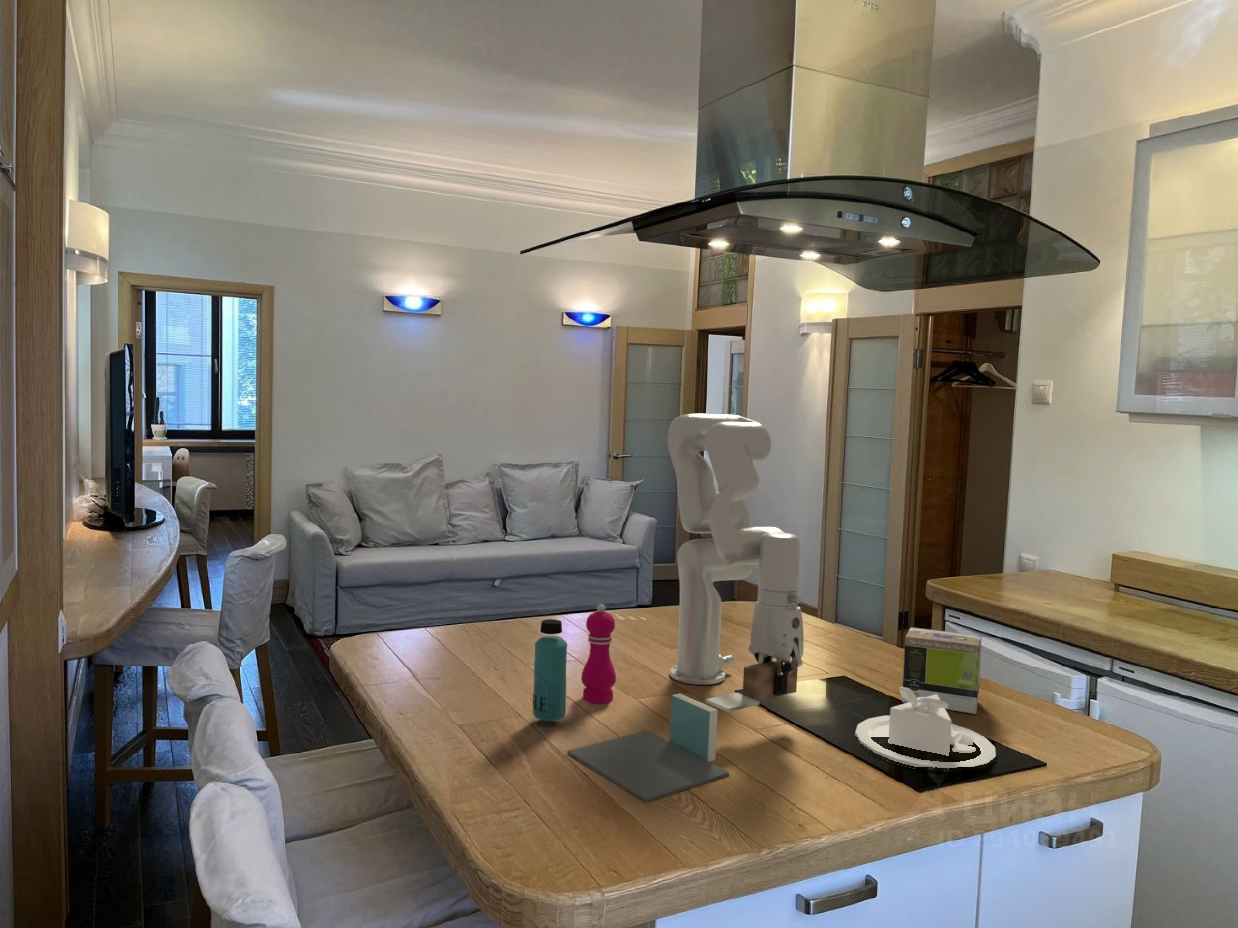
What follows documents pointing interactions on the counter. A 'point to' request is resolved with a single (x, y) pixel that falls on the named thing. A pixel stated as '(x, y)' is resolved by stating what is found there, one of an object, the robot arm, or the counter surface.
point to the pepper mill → (599, 658)
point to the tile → (693, 726)
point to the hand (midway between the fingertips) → (773, 690)
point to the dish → (923, 733)
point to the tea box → (943, 667)
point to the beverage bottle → (550, 673)
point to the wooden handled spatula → (754, 687)
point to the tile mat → (647, 765)
